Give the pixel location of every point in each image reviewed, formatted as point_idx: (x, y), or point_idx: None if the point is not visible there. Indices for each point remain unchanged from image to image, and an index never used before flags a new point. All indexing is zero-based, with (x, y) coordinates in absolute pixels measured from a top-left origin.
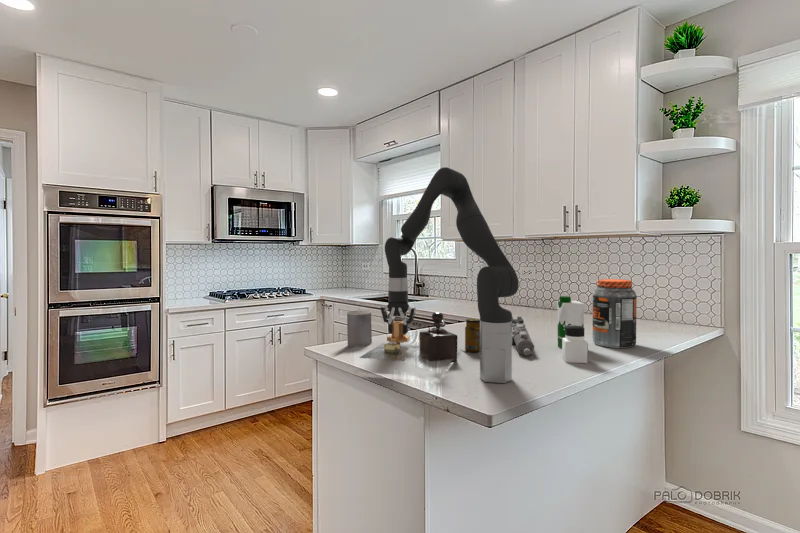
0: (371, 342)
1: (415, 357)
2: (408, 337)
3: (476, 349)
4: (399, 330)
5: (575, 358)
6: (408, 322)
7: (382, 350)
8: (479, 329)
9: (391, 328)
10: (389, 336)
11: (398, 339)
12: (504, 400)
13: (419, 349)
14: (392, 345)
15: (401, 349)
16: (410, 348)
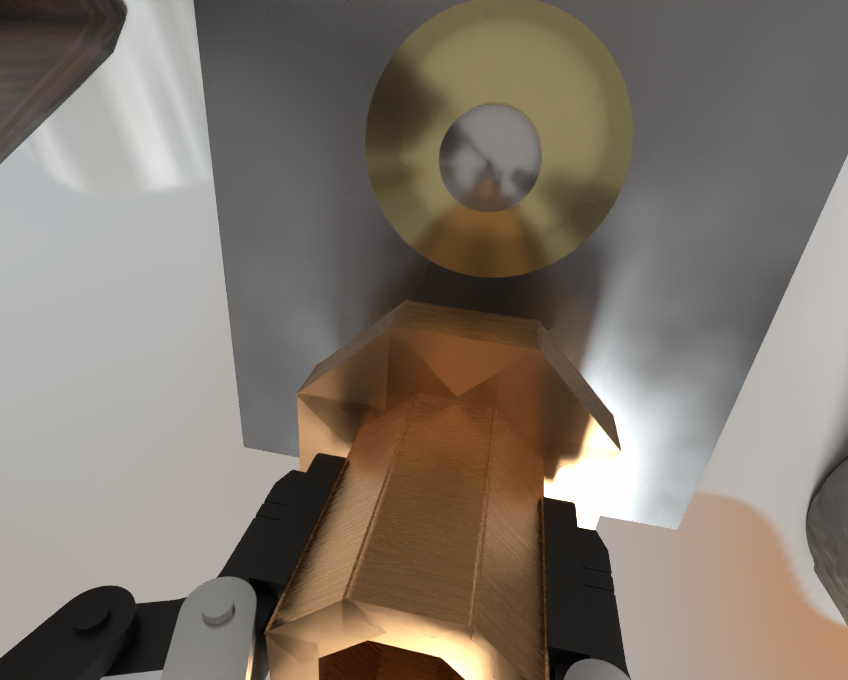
0: (827, 542)
1: (177, 32)
2: (301, 445)
3: None
4: (379, 478)
5: None
6: (128, 611)
7: (650, 169)
8: None
9: (550, 568)
10: (582, 474)
11: (407, 322)
12: None
13: (39, 14)
14: (469, 75)
15: (396, 264)
16: (309, 326)
